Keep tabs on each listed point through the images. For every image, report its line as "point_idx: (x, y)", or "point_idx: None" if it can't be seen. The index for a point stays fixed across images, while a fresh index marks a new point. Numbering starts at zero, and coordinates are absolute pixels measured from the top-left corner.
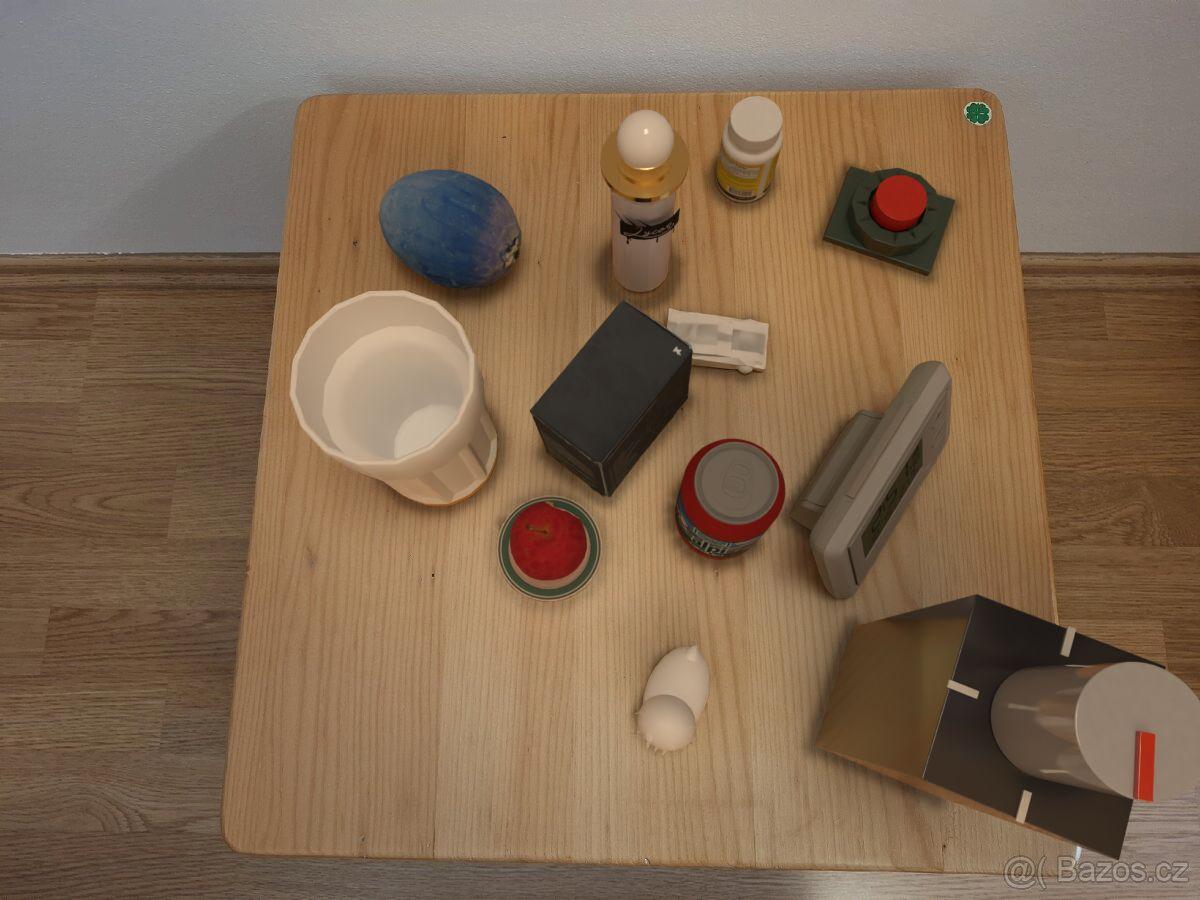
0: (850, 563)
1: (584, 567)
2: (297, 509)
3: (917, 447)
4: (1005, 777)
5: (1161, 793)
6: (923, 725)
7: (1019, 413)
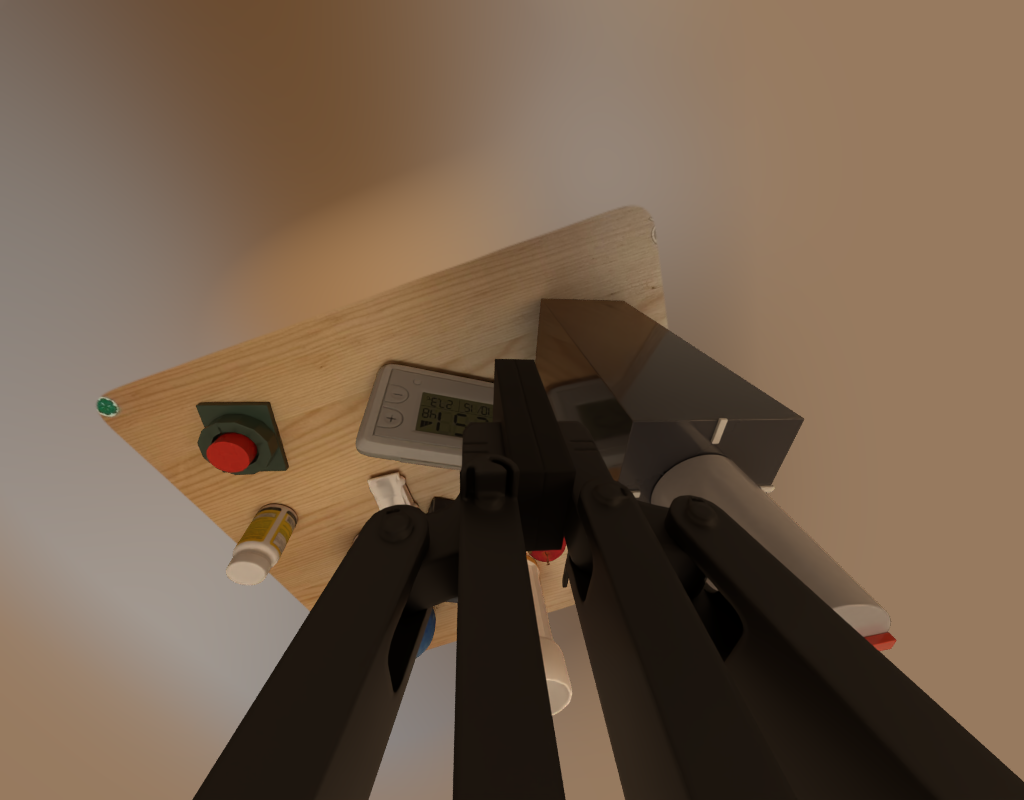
0: None
1: None
2: (556, 600)
3: (422, 425)
4: None
5: (882, 626)
6: None
7: (337, 313)
